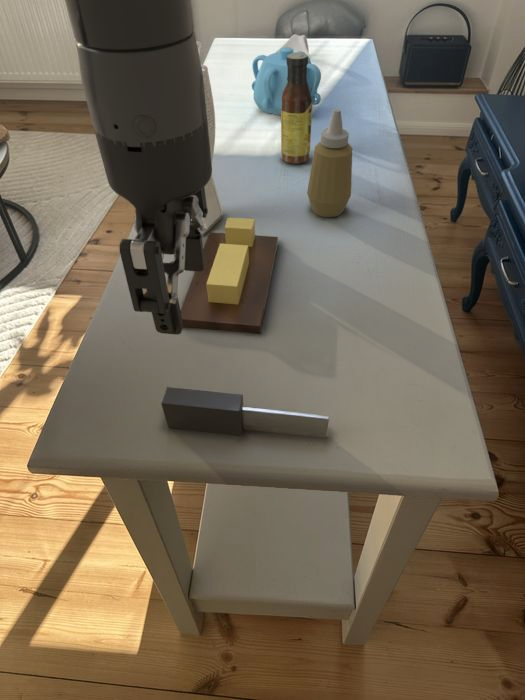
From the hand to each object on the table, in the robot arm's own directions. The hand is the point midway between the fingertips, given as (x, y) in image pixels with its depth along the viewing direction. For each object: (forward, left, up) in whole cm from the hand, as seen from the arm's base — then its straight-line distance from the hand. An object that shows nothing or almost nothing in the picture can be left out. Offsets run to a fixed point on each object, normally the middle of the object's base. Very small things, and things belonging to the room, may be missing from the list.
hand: (182, 298), depth 44 cm
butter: (-1, +25, -19) cm, 31 cm away
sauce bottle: (+5, +70, -20) cm, 73 cm away
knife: (+5, 0, -20) cm, 21 cm away
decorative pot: (0, +97, -20) cm, 99 cm away
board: (-1, +27, -20) cm, 34 cm away
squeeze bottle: (+13, +50, -20) cm, 55 cm away
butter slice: (-2, +36, -19) cm, 40 cm away
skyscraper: (-10, +44, -20) cm, 49 cm away
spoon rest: (-1, +128, -20) cm, 130 cm away
